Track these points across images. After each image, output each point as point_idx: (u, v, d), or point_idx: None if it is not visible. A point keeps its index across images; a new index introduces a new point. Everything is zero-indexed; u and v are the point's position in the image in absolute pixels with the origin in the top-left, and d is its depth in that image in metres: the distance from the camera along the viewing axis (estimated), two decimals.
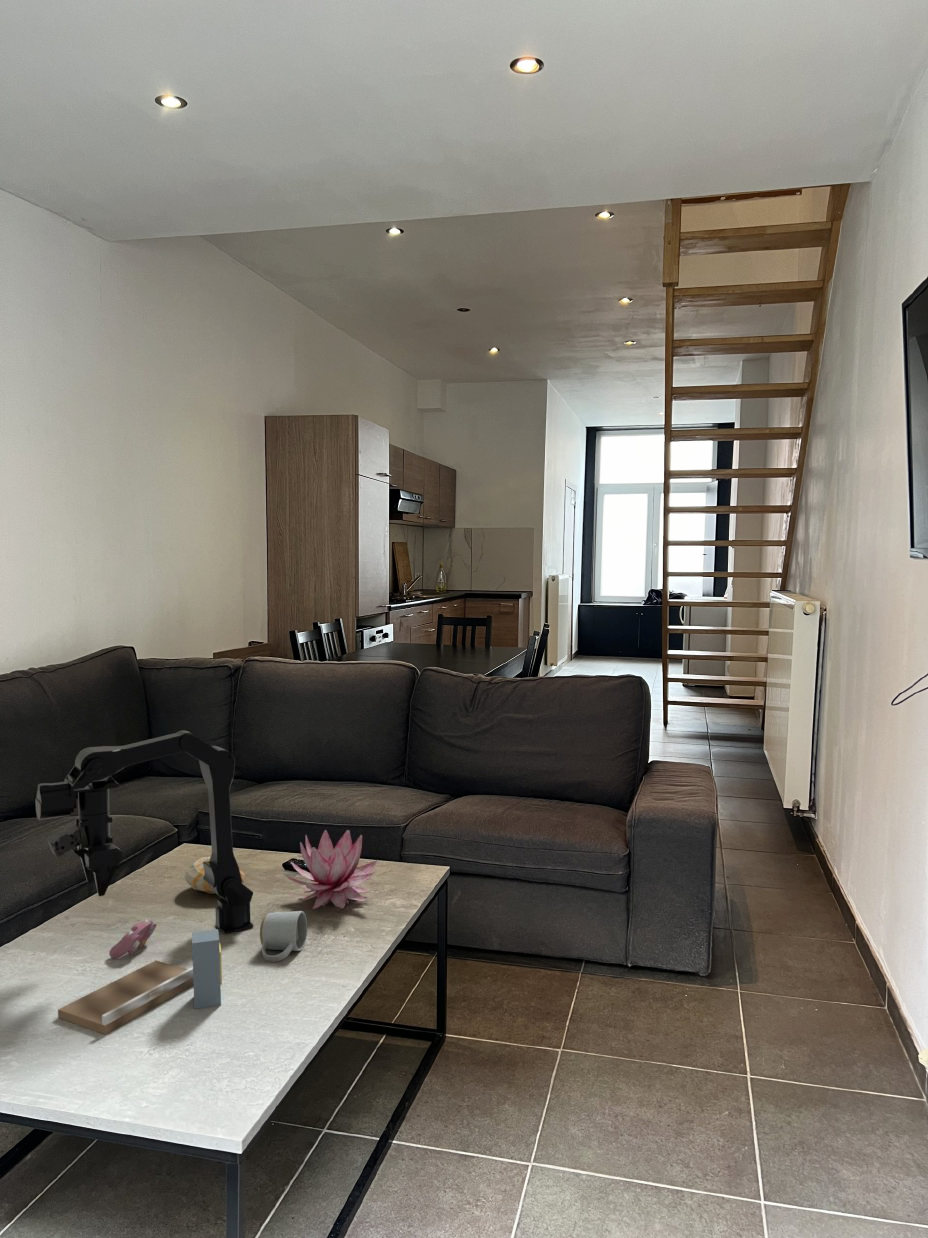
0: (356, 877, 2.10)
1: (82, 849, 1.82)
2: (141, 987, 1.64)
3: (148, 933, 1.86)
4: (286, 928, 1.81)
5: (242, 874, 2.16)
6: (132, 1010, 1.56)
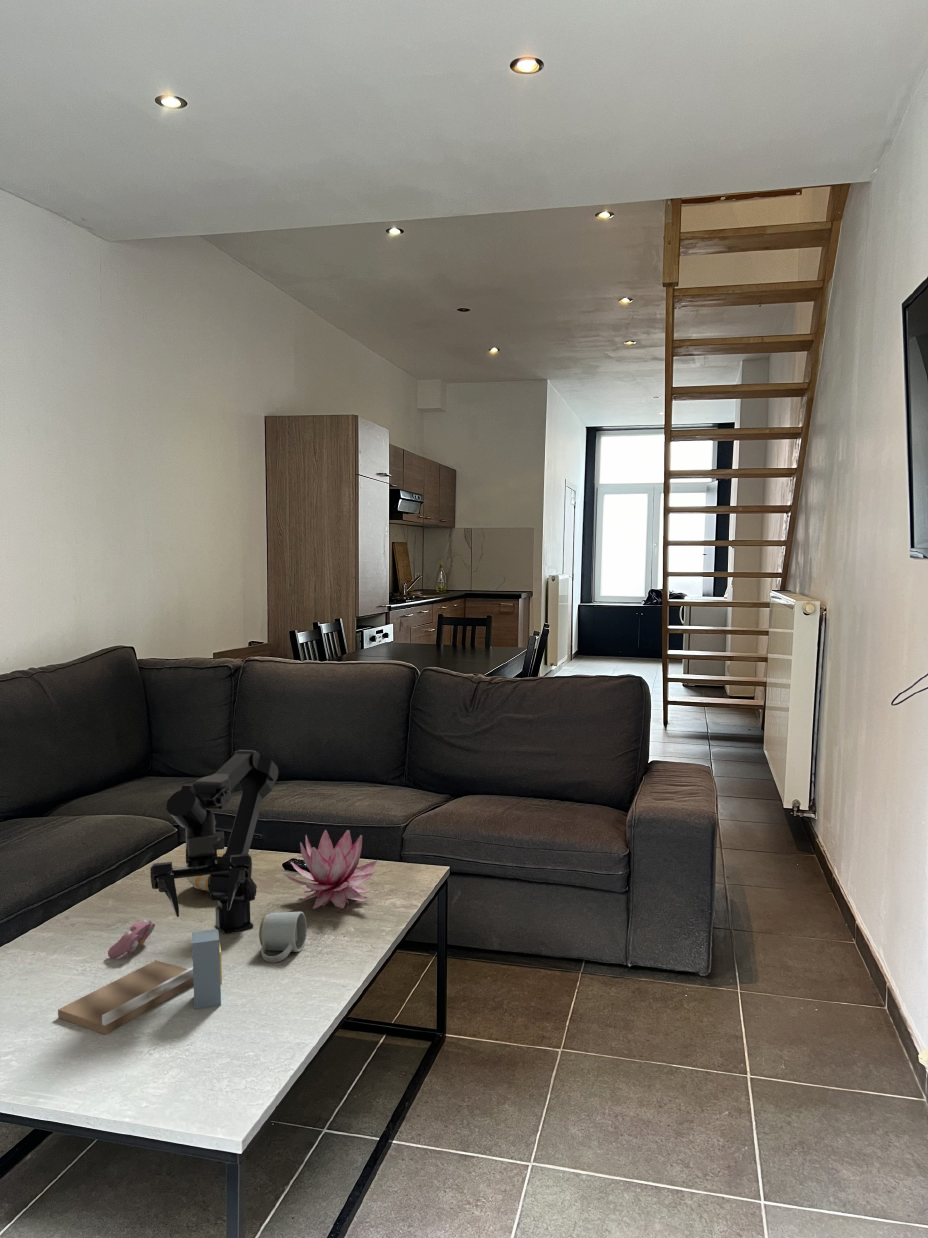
0: (356, 877, 2.10)
1: None
2: (141, 987, 1.64)
3: (147, 933, 1.86)
4: (285, 928, 1.80)
5: None
6: (132, 1010, 1.56)
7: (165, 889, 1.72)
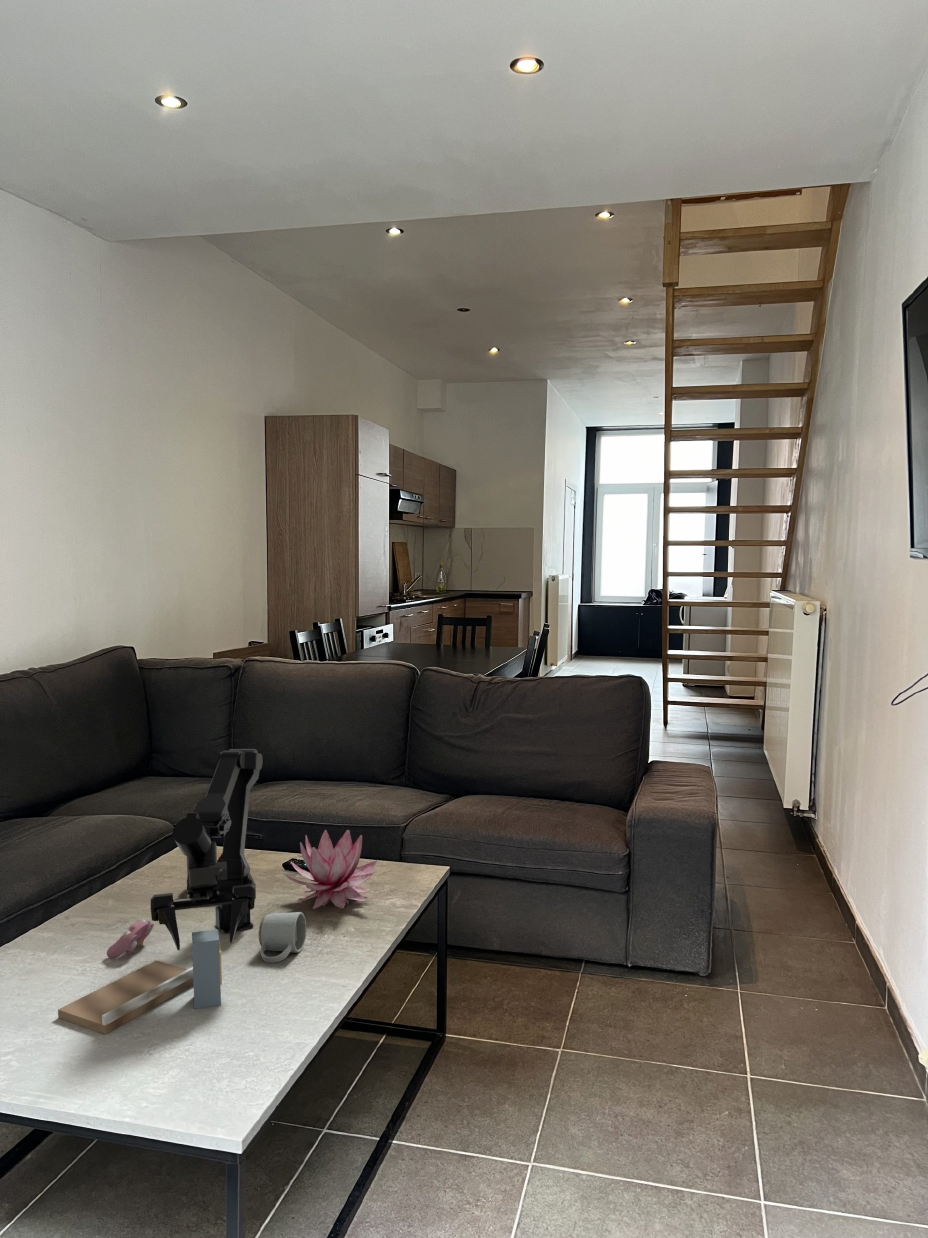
0: (356, 877, 2.10)
1: None
2: (141, 987, 1.64)
3: (145, 933, 1.86)
4: (285, 929, 1.80)
5: None
6: (132, 1010, 1.56)
7: (165, 921, 1.67)
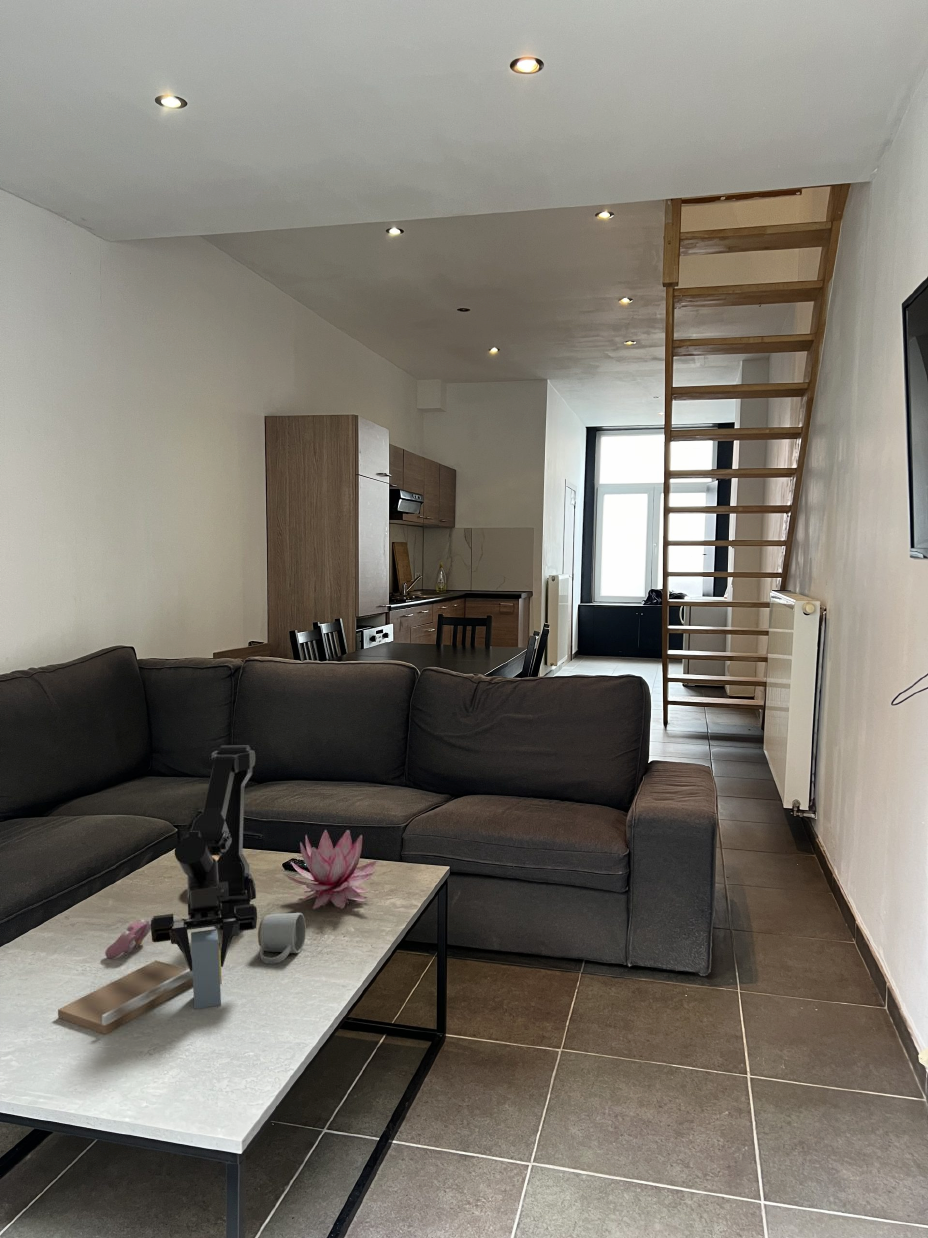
0: (356, 877, 2.10)
1: None
2: (141, 987, 1.64)
3: (144, 933, 1.86)
4: (284, 930, 1.80)
5: None
6: (132, 1010, 1.56)
7: (177, 941, 1.64)
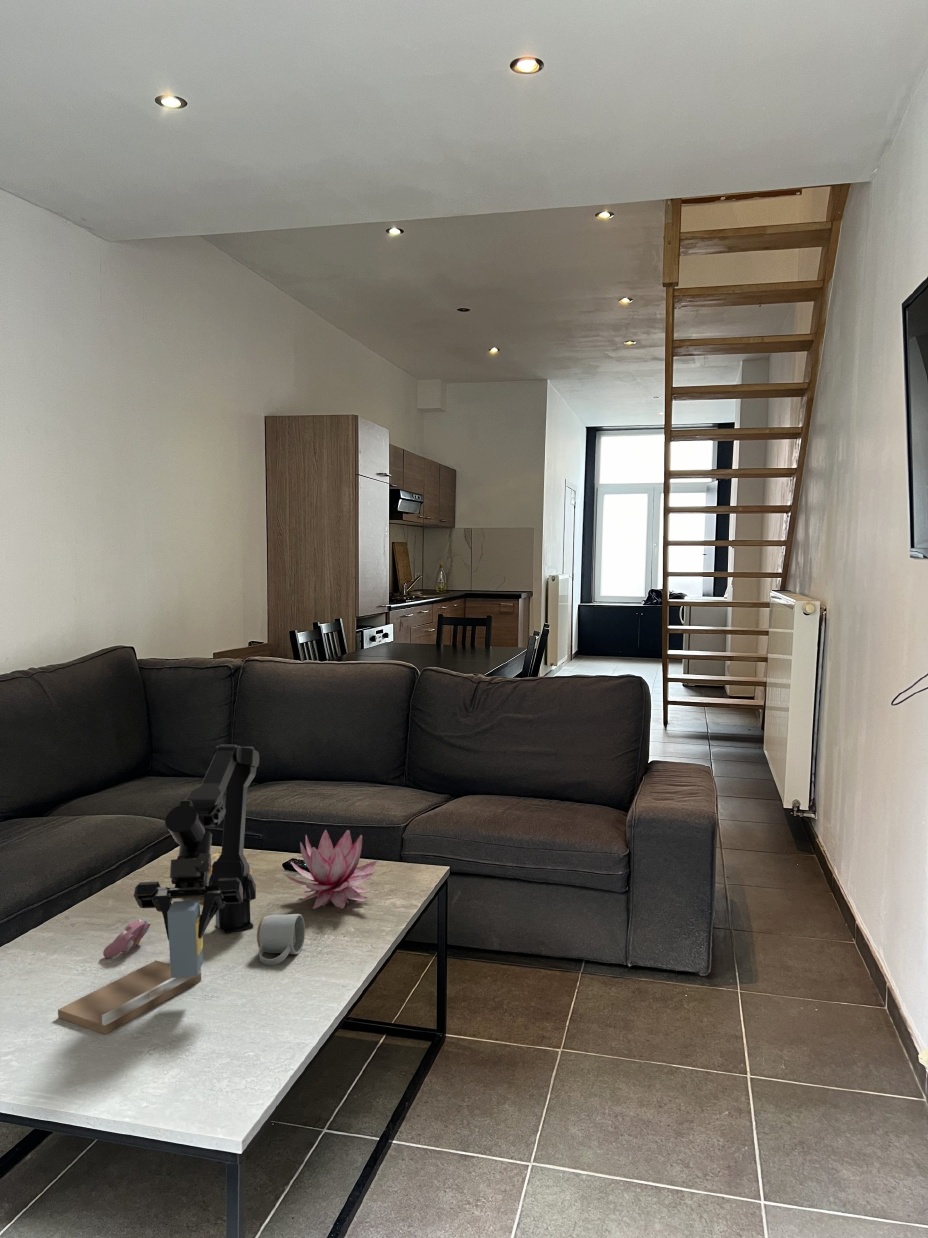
0: (356, 877, 2.10)
1: (168, 899, 1.63)
2: (141, 987, 1.64)
3: (142, 933, 1.86)
4: (283, 931, 1.79)
5: (250, 870, 2.19)
6: (132, 1010, 1.56)
7: None
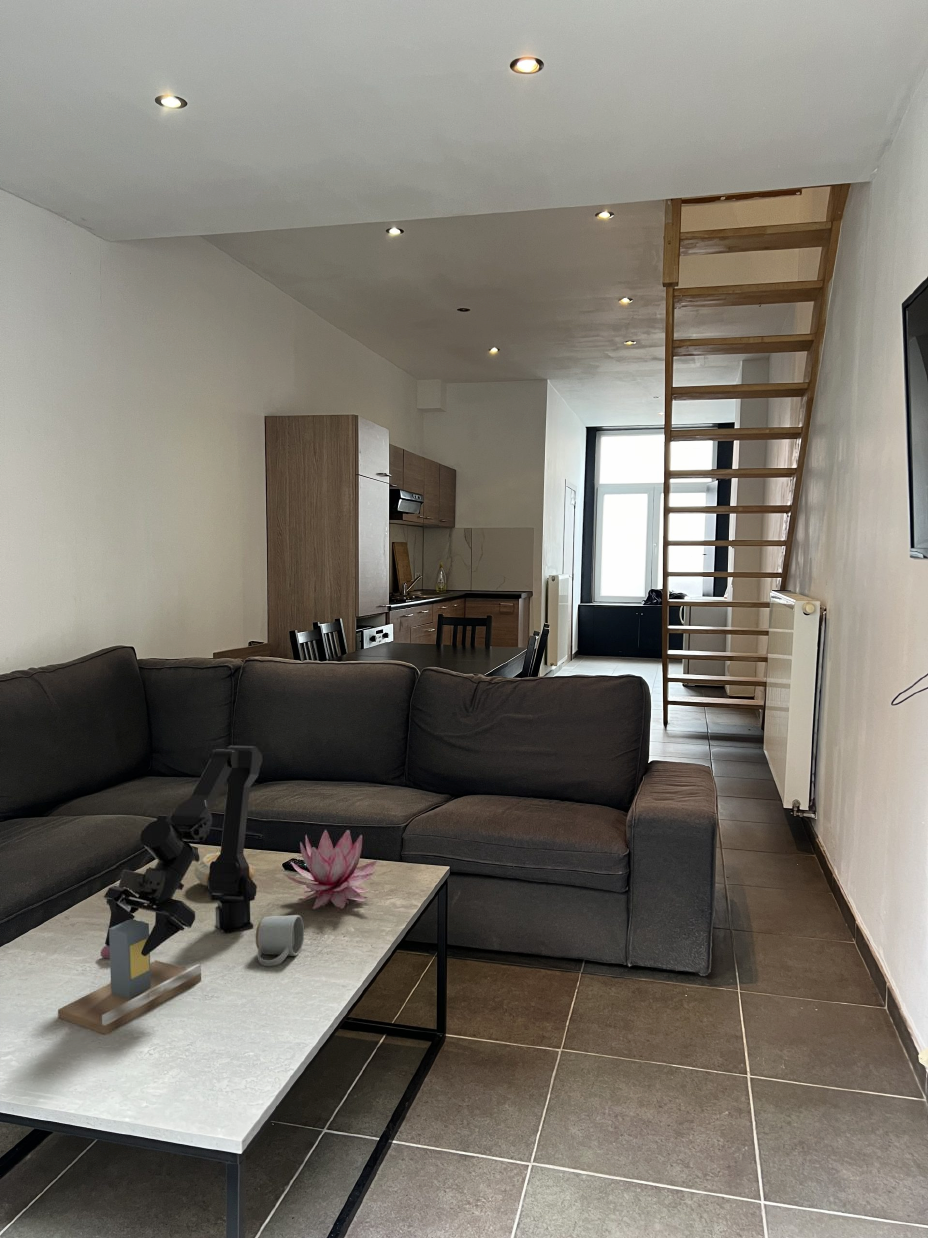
0: (356, 877, 2.10)
1: (121, 906, 1.67)
2: None
3: None
4: (282, 932, 1.78)
5: (253, 868, 2.20)
6: (132, 1010, 1.56)
7: None
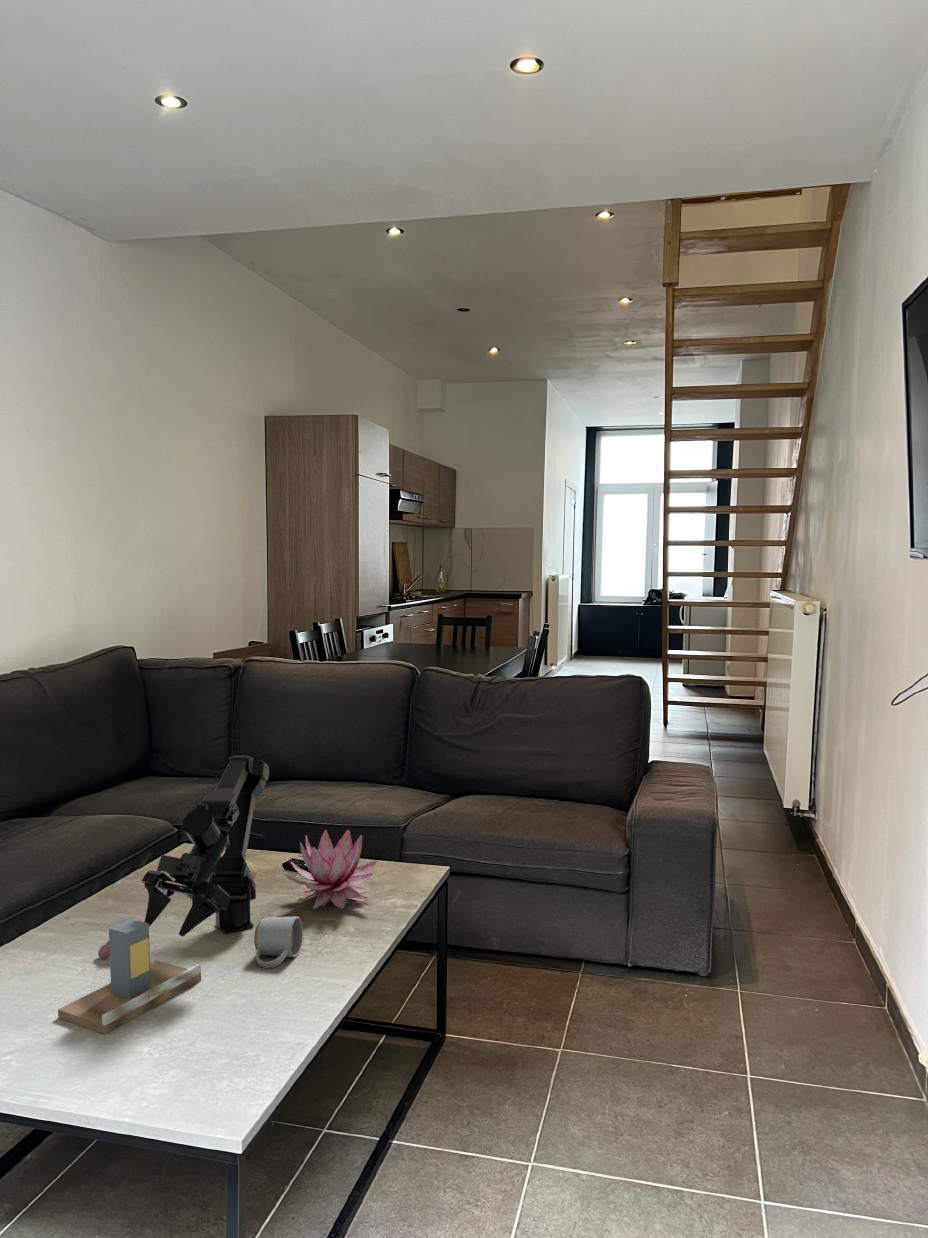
0: (356, 877, 2.10)
1: (158, 889, 1.76)
2: None
3: None
4: (281, 933, 1.78)
5: (255, 866, 2.21)
6: (132, 1010, 1.56)
7: None
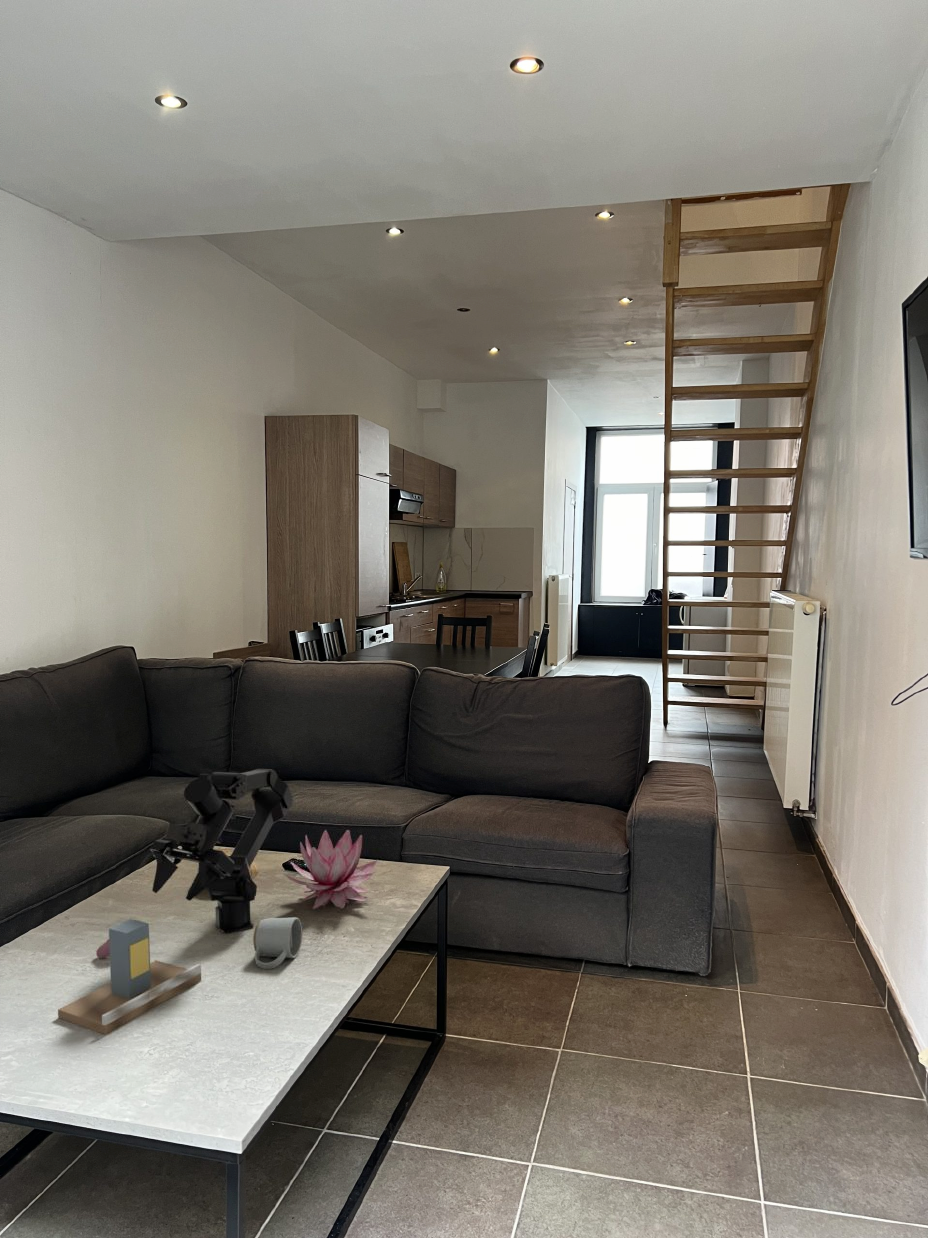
0: (356, 877, 2.10)
1: (166, 857, 1.83)
2: None
3: None
4: (280, 934, 1.77)
5: (257, 865, 2.22)
6: (132, 1010, 1.56)
7: None
